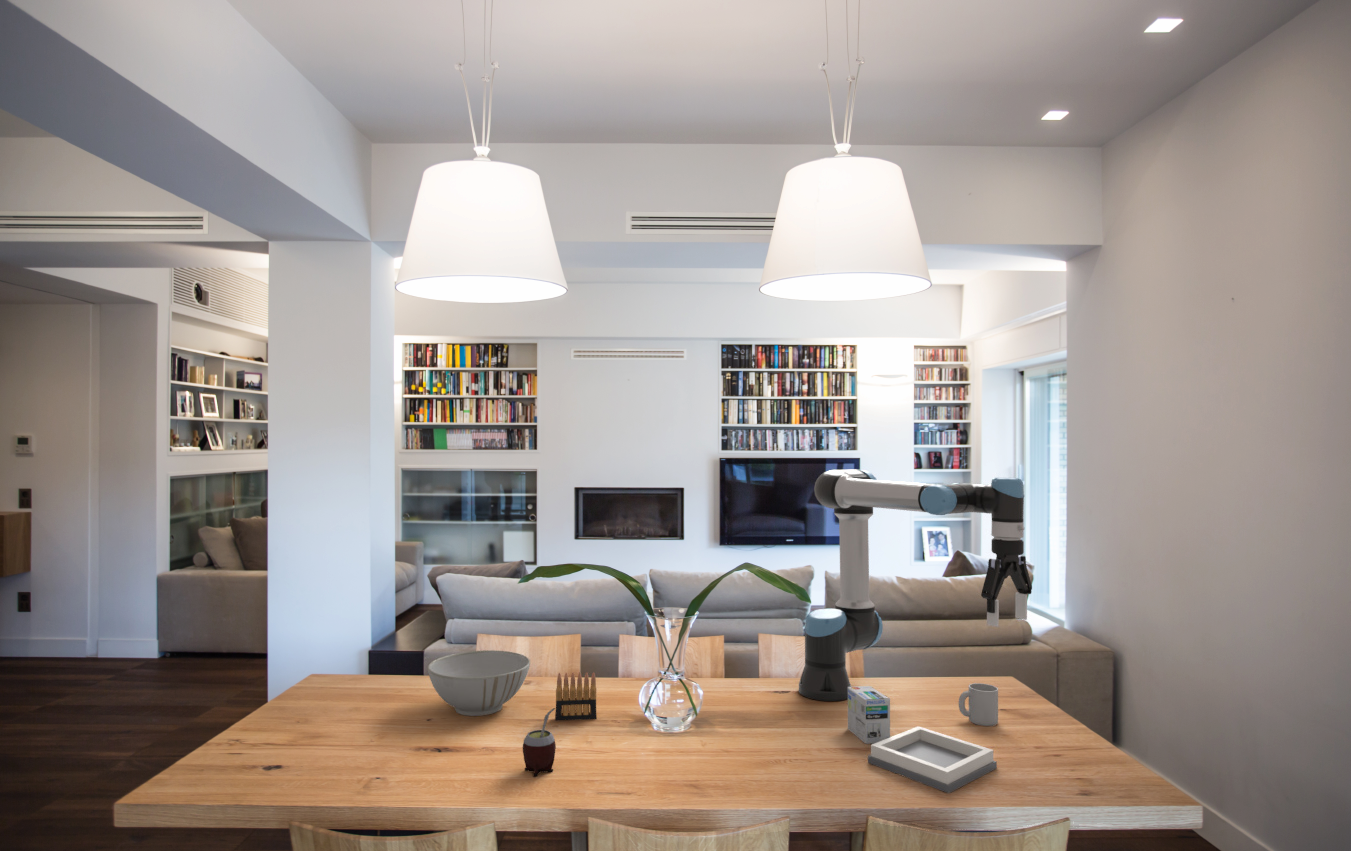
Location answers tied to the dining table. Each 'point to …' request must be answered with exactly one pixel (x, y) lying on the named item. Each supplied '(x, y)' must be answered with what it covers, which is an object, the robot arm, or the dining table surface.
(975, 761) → the socket dock
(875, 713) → the light bulb box
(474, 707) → the decorative bowl
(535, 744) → the mate gourd
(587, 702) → the ammunition clip
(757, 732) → the dining table surface
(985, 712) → the cup
